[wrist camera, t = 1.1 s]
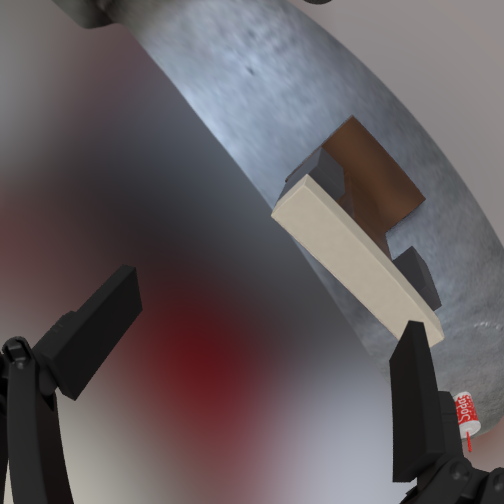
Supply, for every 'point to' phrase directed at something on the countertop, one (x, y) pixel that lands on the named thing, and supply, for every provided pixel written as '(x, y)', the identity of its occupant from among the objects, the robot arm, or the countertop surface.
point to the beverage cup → (466, 416)
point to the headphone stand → (370, 182)
